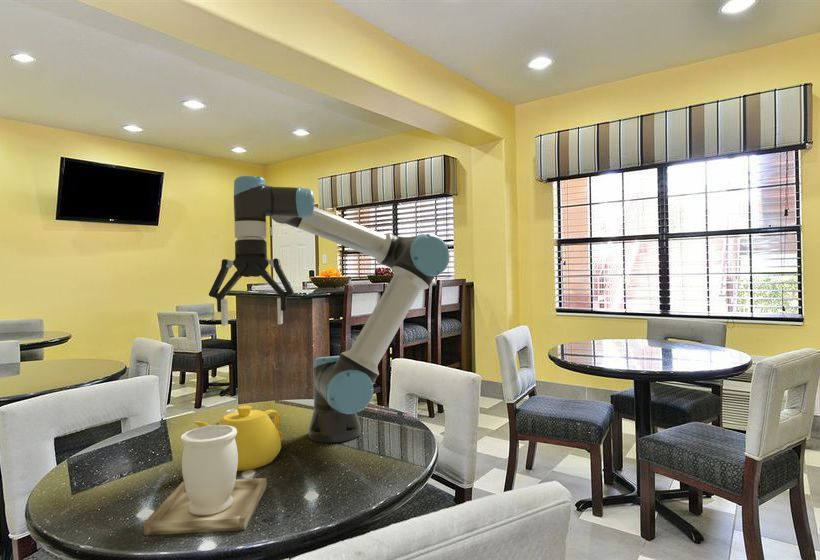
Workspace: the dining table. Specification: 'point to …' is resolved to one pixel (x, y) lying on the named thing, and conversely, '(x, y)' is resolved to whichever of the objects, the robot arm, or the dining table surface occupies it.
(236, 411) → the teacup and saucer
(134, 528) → the dining table surface
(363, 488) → the dining table surface
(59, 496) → the dining table surface
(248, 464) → the teapot
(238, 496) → the tray
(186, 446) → the jar
